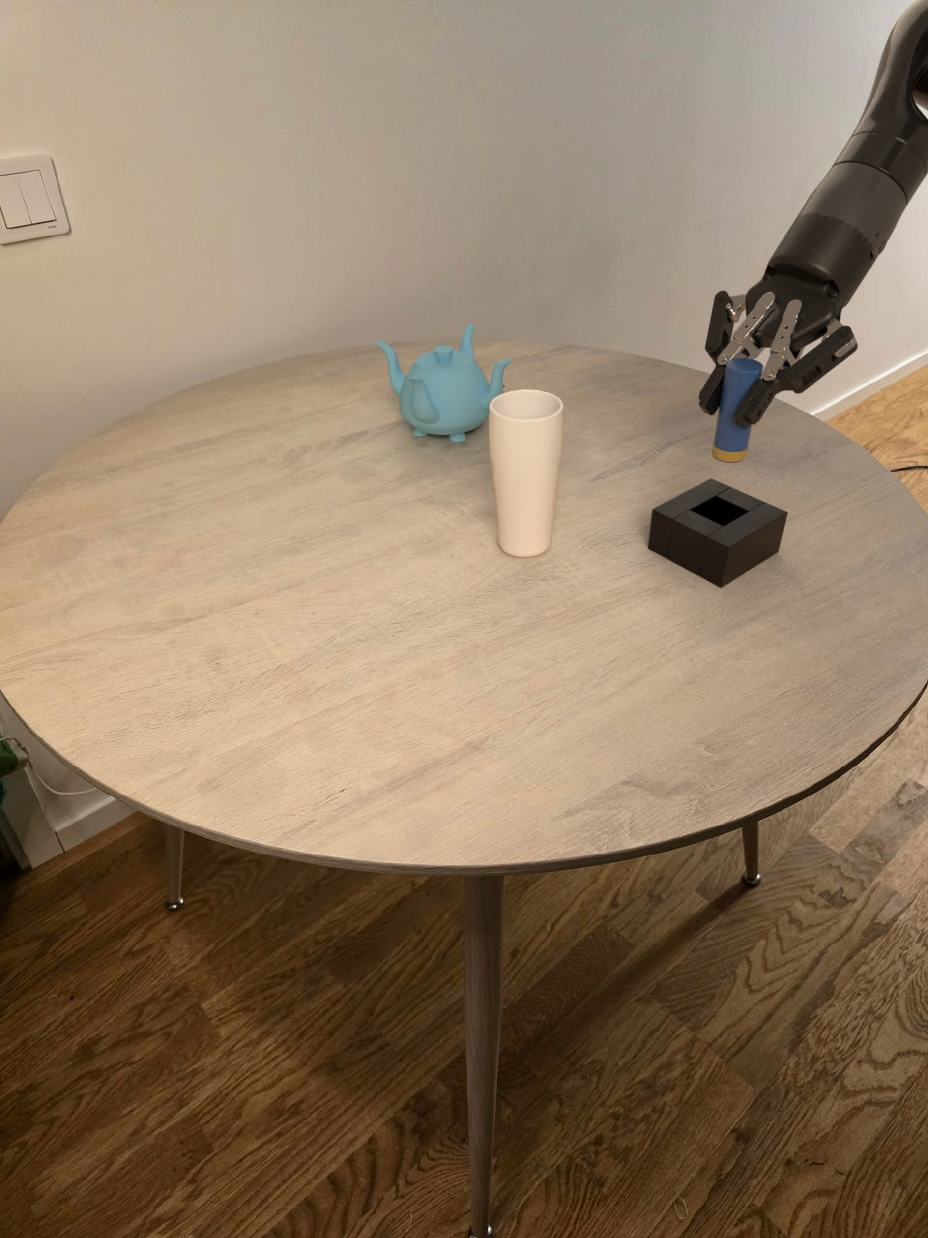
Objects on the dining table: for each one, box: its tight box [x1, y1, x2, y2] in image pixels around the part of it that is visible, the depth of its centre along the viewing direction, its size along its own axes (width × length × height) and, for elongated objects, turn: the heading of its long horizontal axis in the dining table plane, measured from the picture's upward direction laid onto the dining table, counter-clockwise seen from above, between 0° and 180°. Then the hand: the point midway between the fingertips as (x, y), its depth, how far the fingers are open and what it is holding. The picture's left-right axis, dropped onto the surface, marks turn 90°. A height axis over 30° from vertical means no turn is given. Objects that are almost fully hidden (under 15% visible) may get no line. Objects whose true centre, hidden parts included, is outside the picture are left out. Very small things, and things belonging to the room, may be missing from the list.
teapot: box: [375, 324, 514, 443], centre depth 104 cm, size 13×13×10 cm
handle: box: [711, 358, 764, 464], centre depth 75 cm, size 3×3×8 cm
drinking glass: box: [488, 389, 565, 558], centre depth 81 cm, size 7×7×15 cm
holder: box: [647, 478, 789, 589], centre depth 83 cm, size 9×9×4 cm
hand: (722, 416), depth 74 cm, fingers closed on handle, 3 cm apart
